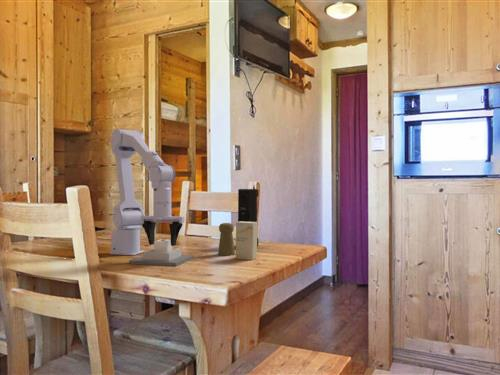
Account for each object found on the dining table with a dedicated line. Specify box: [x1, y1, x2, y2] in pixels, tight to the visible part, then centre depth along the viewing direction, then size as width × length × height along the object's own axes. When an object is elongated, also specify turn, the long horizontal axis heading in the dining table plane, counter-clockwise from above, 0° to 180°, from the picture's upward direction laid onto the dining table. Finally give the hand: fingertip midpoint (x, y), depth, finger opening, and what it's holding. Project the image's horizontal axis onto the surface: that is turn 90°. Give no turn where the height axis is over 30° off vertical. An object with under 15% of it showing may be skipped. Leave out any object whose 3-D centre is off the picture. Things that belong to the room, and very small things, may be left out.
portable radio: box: [237, 186, 259, 248], centre depth 168 cm, size 8×6×25 cm
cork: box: [217, 222, 236, 257], centre depth 151 cm, size 6×6×11 cm
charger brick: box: [153, 238, 173, 252], centre depth 139 cm, size 4×5×6 cm
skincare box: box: [235, 221, 258, 261], centre depth 142 cm, size 6×4×12 cm
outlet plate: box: [128, 247, 195, 267], centre depth 138 cm, size 16×14×4 cm
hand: (162, 244), depth 138 cm, fingers open, 7 cm apart
